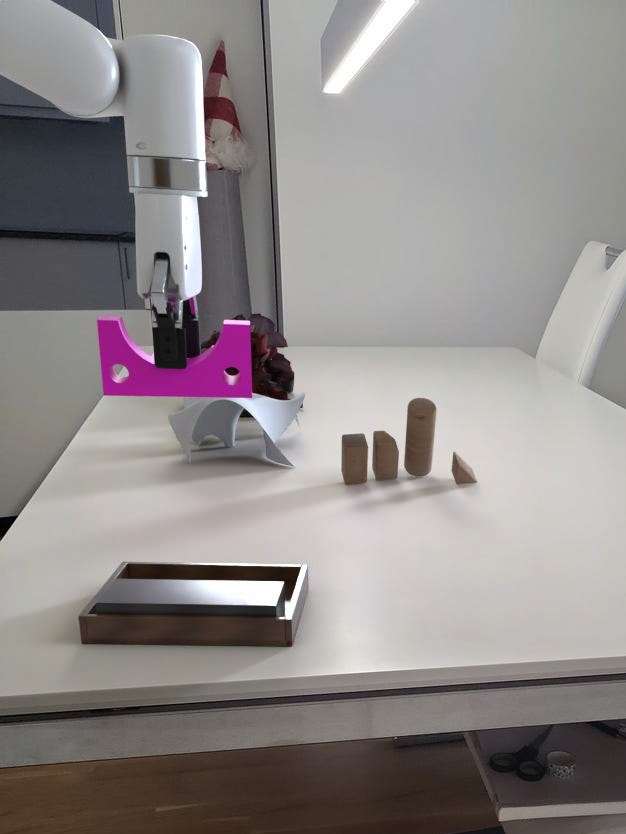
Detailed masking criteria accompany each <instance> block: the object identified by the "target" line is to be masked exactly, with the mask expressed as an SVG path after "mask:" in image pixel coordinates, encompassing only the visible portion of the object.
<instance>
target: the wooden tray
mask: <svg viewBox="0 0 626 834" xmlns="http://www.w3.org/2000/svg"><path fill="white" fill-rule="evenodd" d="M309 589H310V587H309V565H308V564H278V563H277V564H273V563H271V564H269V563H226V562H225V563H223V562H222V563H221V562H220V563H218V562H217V563H216V562H174V561H173V562H168V561H167V562H165V561H122V562H121V563H120V564H119V565H118V566H117V568H116V569H115V570H114V572H113V573H112V574H111V575H110V577H109V578H108V579H107V580H106V582H105V583H104V584H103V585H102V586H101V588H100V589H99V590H98V591H97V593H96V594H95V595H94V596H93V598H92V599H91V600H90V601H89V602H88V603H87V605H86V606H85V607H84V608H83V610H82V611H81V612H80V613H79V615H78V616H77V617H78V627H79V633H80V641H81V642H80V643H81V644H91V645H92V644H93V645H94V644H98V645H99V644H101V645H103V644H104V645H106V644H107V645H112V644H113V645H167V646H168V645H173V646H174V645H175V646H176V645H177V646H179V645H180V646H236V647H237V646H241V647H243V646H245V647H247V646H248V647H249V646H250V647H251V646H253V647H293V645H294V642H295V639H296V635H297V631H298V628H299V625H300V622H301V617H302V614H303V610H304V607H305V603H306V600H307V597H308V592H309Z"/></svg>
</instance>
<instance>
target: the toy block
mask: <svg viewBox="0 0 626 834" xmlns="http://www.w3.org/2000/svg"><path fill="white" fill-rule="evenodd" d="M96 327H97V336H98V337H97V338H98V350H99V358H100V359H99V361H100V371H101V382H102V383H101V384H102V395H103V397H105V396H108V397H156V398H157V397H159V398H160V397H163V398H164V397H165V398H167V397H168V398H169V397H170V398H184V397H215V398H252V371H251V339H250V321H247V320H246V321H244V320H231V319H223V324H222V329H221V331H222V332H221V335H220V337H219V339H218V341H217V342H216V344H215V345H214V346H211V347H210V348H209V349H208V350H207V351H205V352H204V353H202V354H201V355H198V356H196V357H193V358H190V359H188V358H187V367H186V368H185V369H166V368H157V367H156V366H155V363H154V352H153V353H152V354H151V355H150V354H148V353H146V352H145V351H144V350H143V349H141V348H140V347H139V346H138V344H137V343H136V342H135V341H134V340H133V338H132V337H131V336H130V334H129V333H128V329H127V328H126V326H125V322H124V319H123V316H121V315H120V316H118V315H117V316H116V315H101V316H99V317H98V318H97V319H96ZM116 365H120V366H123V367H124V368H125V369H126V370H127V372H128V375H127V376H120V375H118V374H117V372H115V371H116V370H115V367H114V366H116ZM228 367H234V368H236V369H238V370H239V374H237V375H235V376H231V375H228V374H227V373H226V372H225V369H226V368H228Z"/></svg>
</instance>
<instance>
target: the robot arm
mask: <svg viewBox="0 0 626 834" xmlns="http://www.w3.org/2000/svg"><path fill="white" fill-rule="evenodd" d="M199 51H200V50H199V49H198V48H197V46H196V45H195V44H194V43H193V42H192V41H189V40H187V39H185V38H181V37H176V36H172V35H165V34H152V33H137V34H131V35H128V36H127V37H124V39H116V38H112V37H111V38H110V37H106V36H105V35H104V34H103V33H102V32H101V31H100V30H99V29H98V28H97V27H95V26H94V25H93V24H92V23H90V22H89V21H87V20H86V19H84V18H82V17H81V16H79V15H78V14H77V13H74V12H72V11H71V10H69V9H67V8H65V7H64V6H62V5H60V4H58V3H56V2H55V1H52V0H0V76H2V77H4V78H6V79H7V80H9V81H11V82H13V83H15V84H17V85H19V86H21V87H22V88H24V89H26V90H28V91H30V92H32V93H34V94H35V95H38V96H40V97H42V98H43V99H45V100H47V101H49V102H50V103H51V104H53V105H54V106H55V107H56V108H57V109H58V110H60V111H61V112H63V113H65V114H67V115H68V116H69V115H70V116H71V117H76V118H81V119H95V118H108V117H123V123H124V136H125V151H126V163H127V176H128V177H127V178H128V186H129V187H128V191H129V193H131V194H136V197H135V221H134V222H135V224H134V226H135V262H136V263H135V264H136V265H135V266H136V267H135V268H136V289H137V294H138V296H139V297H140V298H141V299H144V300H148V299H151V300H152V304H151V325H152V327H151V332H152V333H151V334H152V347H153V353H154V363H155V366H156V367H157V368H166V369H185V368H186V367H187V359H188V358H189V359H190V358H193V357H196V356H198V355H201V346H200V345H201V327H200V320H199V309H198V308H199V307H198V302H197V301H198V300H197V295H199V294H200V293H201V291H202V288H203V287H202V286H203V265H202V244H201V243H202V241H201V228H200V215H199V205H198V197H199V198H201V197H203V198H208V197H209V195H208V176H207V152H206V133H205V130H206V129H205V111H204V109H205V108H204V89H203V87H204V86H203V67H202V66H203V65H202V57H201V53H200V52H199Z"/></svg>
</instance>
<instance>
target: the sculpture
mask: <svg viewBox="0 0 626 834" xmlns="http://www.w3.org/2000/svg"><path fill="white" fill-rule="evenodd" d="M305 397H306V392H301V393H300V394H298V395H297V396H295V397H294V398H290V399H291V400H276V399H272V398H269V397H266V396H262V395H258V394H254V393H252V398H215V397H183V409H181V410H178V411H176V412H173V413H169V414H167V418H168V421H169V422H168V423H169V425H170V426H171V429H172V431H173V433H174V435H175V438H176V440H177V442H178V443H179V445H180V447H181V449H182V451H183V453H184V456H185V457H186V458H187V460H188V463H189V465H192V457H191V455H192V453H191V451H192V450H191V449H192V448H191V447H192V441H193V442H194V443H195V445H196V446H197V447H199V446H200V443H201V441H202V440H203V439H204V438H205V437H206V436H213V437H216V438H217V439H219V440H220V441H221V442H222V444H223V445H224V446H225V447H227V448H232V447H233V448H234V447H235V437H236V436H235V435H236V429H237V425H238V421H239V419H240V418H241V417H240V414H241V413H242V411H243V409H244V408H245V409H246V410H247V411H248V412H249V413H251V414H252V416H253V417H252V418H254V419H255V421H257V422H258V424H259V425H260V427H261V429H262V432H263V438H264V446H265V447H264V448H265V457H266V458H267V459H268V460H269V461H272V462H273V463H276V464H280V465H285V466H288V467H293V468H296V466H295V465H294V464H293V463H292V462H291V461H289V459H288V458H287V457H286V456H285V455H284V453H283V452H282V450H281V449H280V448H279V447H278V446H277V444H276V443H277V441H278V440H280V438H281V437H282V436H283V435H284V434H285V432H287V430H288V428H289V427H290V426H291V424H292V423H293V421H294V420H295V422H296V423H297V425H298V427H299V428H301V426H300V423H299V420H298V413H299V411H300V409H301V408H300V407H301V405H302V403H303V404H304V401H305Z"/></svg>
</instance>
